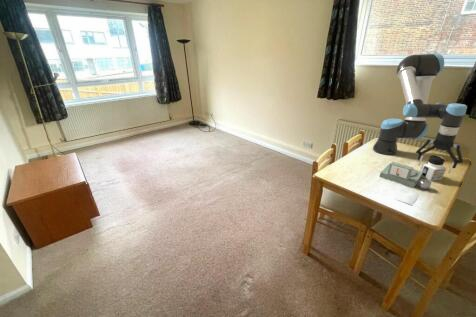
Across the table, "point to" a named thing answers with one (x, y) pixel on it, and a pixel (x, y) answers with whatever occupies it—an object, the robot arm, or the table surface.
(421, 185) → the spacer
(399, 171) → the scale
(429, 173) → the container
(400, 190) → the table surface
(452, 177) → the table surface
